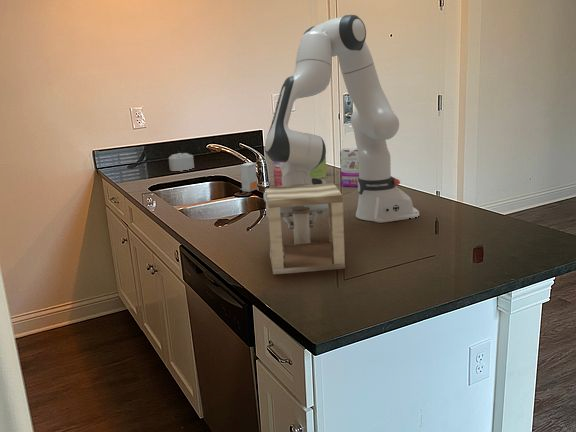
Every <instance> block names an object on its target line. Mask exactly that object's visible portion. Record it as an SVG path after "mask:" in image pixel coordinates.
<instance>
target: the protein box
mask: <svg viewBox="0 0 576 432" xmlns="http://www.w3.org/2000/svg"><path fill="white" fill-rule="evenodd" d="M326 156H327V155H326ZM326 156H325V159H324V161H323V162H322V163H321V164H320V165H319V166H317V167H316V168H315V169H313V170H310V172H309V175H310V177H314V178H319V179H323V178H327V157H326ZM322 177H323V178H322Z"/></svg>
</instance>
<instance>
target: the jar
mask: <svg viewBox="0 0 576 432" xmlns="http://www.w3.org/2000/svg"><path fill="white" fill-rule="evenodd" d="M309 212H310V208H309V207H307V206H297V207H293V208H292V213H293V217H292V221H293V225H294V229H293V242H294V244H293V245H295V244H307V243H311V228H310V221H309V220H310V215H309Z"/></svg>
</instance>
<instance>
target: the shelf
mask: <svg viewBox="0 0 576 432" xmlns="http://www.w3.org/2000/svg"><path fill="white" fill-rule="evenodd" d="M265 192H266V198H267V204H268V217H267V218H268V230H269V231H268V232H269V246H270V249H269V258H270V263H271V270H272V274H273V275H283V274H295V273H304V272H305V273H306V272H307V273H308V272H317V271H329V270H331V271H332V270H344V269H346V261H345V257H346V256H345V235H344V234H345V232H344V230H345V229H344V228H345V227H344V225H345V224H344V199H343V198H344V197H343V196H344V195H343V194H342V193H341V191H340V190H339V188H338V187H337V186H336V185H335V183H334V182H332V183H331V182H330V183H326V184H316V185H302V186H289V187H276V188H275V187H265ZM327 203H328V214H327V215H328V235H329V241H323V242H322V241H321V242H310V243H307V244H295V245H294V244H284V245H283V239H282V237H283V235H282V220H281V218H282V217H280V207H288V206H301V205H314V204H327Z"/></svg>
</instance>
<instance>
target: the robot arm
mask: <svg viewBox="0 0 576 432" xmlns="http://www.w3.org/2000/svg"><path fill="white" fill-rule="evenodd" d="M366 38H367V29H366V25H365V23H364V21H363V20H362V19H361V18H360V17H359V16H358V15H356V14H345V15H343V16H341V17H334V18H332V19H331V18H330V19H327V20H326V21H324V22H321V23H319V24H317V25H314V26H311V27H309V28H308V29H306V30H305V31H304V33H303V34H302V36H301V38H300V41H299V45H298V47H297V52H296V58H295V66H294V67H295V68H294V72H293V73H292V75H290V76H288V77H286V79H285V80H284V82H283V84H282V86H281V89H280V92H279V96H278V98H277V102H276V105H275V106H276V107H275V108H274V109H275V110H274V114H273V118H272V121H271V124H270V127H269V130H268V134H267V135H266V138H265V141H264V152H265V153H266V155H267V157H268V158H269V159H270V160H271V162H273V163H274V162H280V169H281V172H282V187H289V186H302V185H316V184H327V182H326V180H325V179H323V178H314V177H310V175H309V172H310V170H313V169H315V168H316V167H317V166H319V165H320V164H321V163H322V162H323V161H324V159H325V156H327V155H326V154H327V148H326V147H327V146H326V144H325V141H324V139H323V138H322V137H321V136H320V135H317V134H312V133H309V132H308V133H307V132H300V131H298V130H292V129H290V127H289V121H290V118H291V114H292V111H293V106H294V103H295V101H296V100H298V99H303V98H309V97H314V96H317V95H318V94H319V95H320V93H323V92H324V91H325V90H326V89H327V88H328V86H329V85H330V82H331V79H332V78H331V77H332V64H333V57H337V58H338V63H339V68H340V71H341V75H342V78H343V80H344V81H343V82H344V85H345V87H346V88H345V89H346V91H347V94H348V96H349V99H350V100H351V101H352V103H353V105H354V107H355V110H354V111H353V112H352V114H351V116H350V125H351V126H352V128H353V134H354V139H355V144H356V149H357V150H358V157H359V178H358V187H357V192H358V203H357V209H356V212H355V217H356V218H357V219H359V220H364V221H369V222H375V223H388V222H389V223H390V222H394V221H402V220H409V218H411V219H415V217H417V218H419V217H420V211H419V210H418V209H417V208H416V207H414V206H413V201H412V199H411V196H410V195H408V194H407V193H406V192H404V191H403V190H402V189H400V188H399V187H397V186H399V185H400V184H401V181H400V180H399V179H398V178H396V177H393V176H392V175H391V173H392V171H391V154H390V151H389V148H388V145H387V140H390V139H392V138H394V137H395V136H396V134H397V133H398V131H399V128H400V121H399V118H398V116H397V114H396V113H395V112H394V111H393V108H392V107H391V105H390V103H389V100H388V98H387V96H386V94H385V92H384V90H383V88H382V85H381V83H380V80H379V76H378V73H377V69H376V66H375V63H374V60H373V57H372V53H371V51H370V48H369V46H368V44H367V42H366ZM262 195H263V201H264V202H265V215H266V217H267V218H268V204H267V198H266V191H264V193H263V194H262ZM301 206H307V207H309V208H310V212H309V216H311V218H312V219H309V221H310V229H312V228H315V227H316V225H315V224H316V223H315V222H316V220H317V217H318V216H319V215H329V214H328V203H327V204H314V205H301ZM293 207H297V206H288V207H280V217H281V218H283V221H284V222H285V223H286V224H287V225H288V226H287V227H288V230H294V225H293V220H290V218H291V217H292V218H293V213H292V208H293ZM418 216H419V217H418Z"/></svg>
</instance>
